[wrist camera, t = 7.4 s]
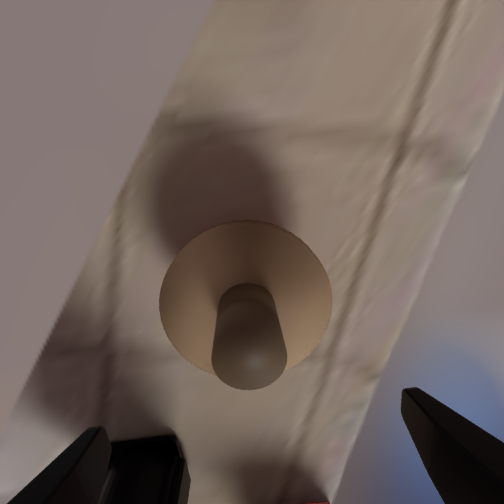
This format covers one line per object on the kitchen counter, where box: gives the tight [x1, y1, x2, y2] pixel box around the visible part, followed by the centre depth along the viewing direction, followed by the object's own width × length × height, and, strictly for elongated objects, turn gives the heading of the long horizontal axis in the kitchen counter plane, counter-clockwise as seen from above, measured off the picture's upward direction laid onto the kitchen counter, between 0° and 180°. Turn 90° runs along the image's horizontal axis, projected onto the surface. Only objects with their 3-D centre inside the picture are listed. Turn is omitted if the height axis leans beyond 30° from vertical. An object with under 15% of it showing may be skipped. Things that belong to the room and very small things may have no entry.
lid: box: [159, 220, 332, 390], centre depth 14 cm, size 9×9×5 cm
